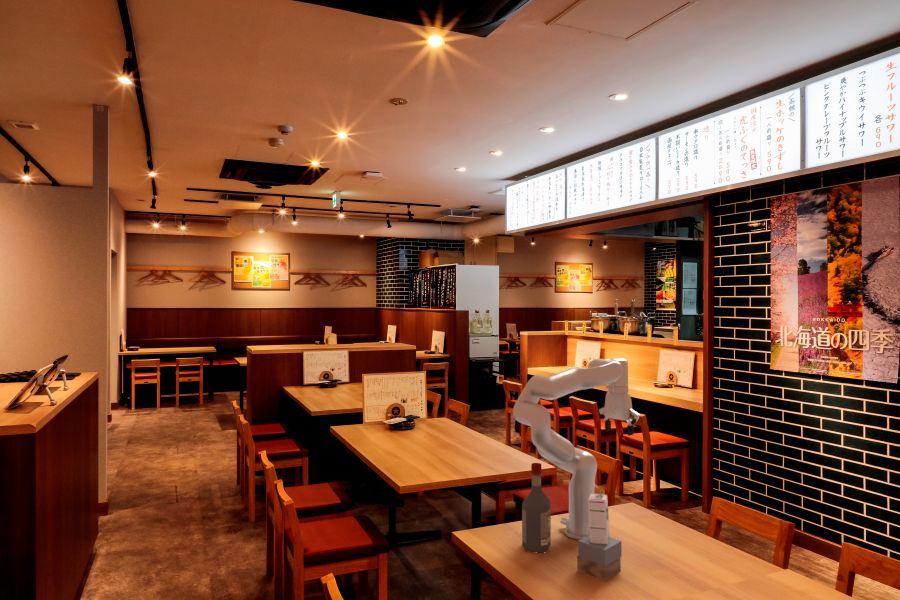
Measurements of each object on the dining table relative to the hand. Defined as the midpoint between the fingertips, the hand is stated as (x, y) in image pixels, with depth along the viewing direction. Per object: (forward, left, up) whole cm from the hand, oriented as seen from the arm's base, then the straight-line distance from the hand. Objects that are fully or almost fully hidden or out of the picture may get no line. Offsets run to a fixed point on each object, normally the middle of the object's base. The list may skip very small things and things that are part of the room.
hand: (619, 433), depth 229 cm
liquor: (-11, -40, -37) cm, 55 cm away
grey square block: (+14, -40, -32) cm, 53 cm away
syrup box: (+14, -40, -27) cm, 50 cm away
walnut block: (+14, -40, -37) cm, 56 cm away
